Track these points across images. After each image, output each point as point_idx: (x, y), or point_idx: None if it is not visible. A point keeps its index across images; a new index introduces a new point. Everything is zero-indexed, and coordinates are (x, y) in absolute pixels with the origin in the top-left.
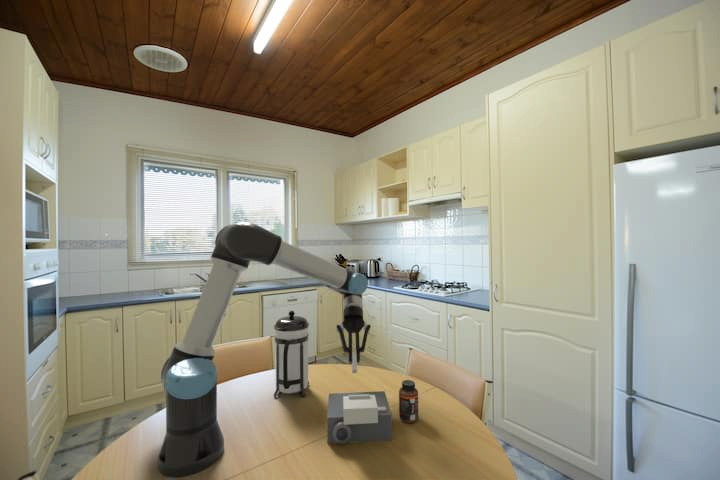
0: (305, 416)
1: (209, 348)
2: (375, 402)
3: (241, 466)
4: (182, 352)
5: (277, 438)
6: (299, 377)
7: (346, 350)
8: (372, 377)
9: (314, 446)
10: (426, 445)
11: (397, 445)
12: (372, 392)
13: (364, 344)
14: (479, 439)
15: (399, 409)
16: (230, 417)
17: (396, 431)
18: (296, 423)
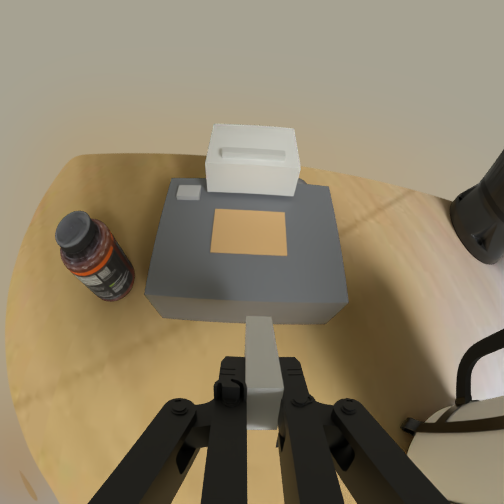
0: (382, 323)
1: None
2: (213, 137)
3: (419, 200)
4: None
5: (407, 250)
6: (449, 421)
7: (330, 406)
8: None
9: (337, 219)
10: (127, 198)
11: None
12: (188, 292)
13: (156, 427)
14: (48, 206)
15: (127, 269)
16: (493, 319)
17: None
18: (393, 295)
